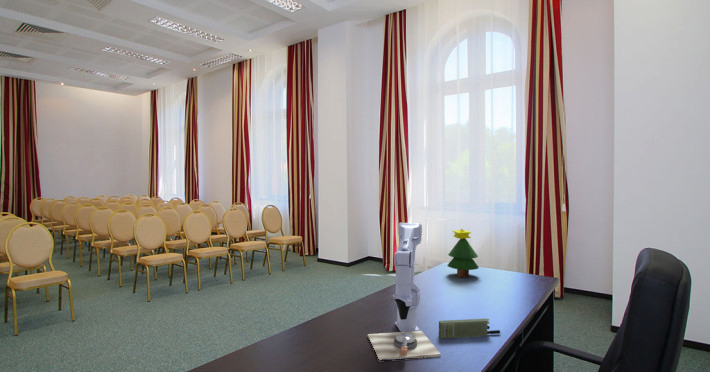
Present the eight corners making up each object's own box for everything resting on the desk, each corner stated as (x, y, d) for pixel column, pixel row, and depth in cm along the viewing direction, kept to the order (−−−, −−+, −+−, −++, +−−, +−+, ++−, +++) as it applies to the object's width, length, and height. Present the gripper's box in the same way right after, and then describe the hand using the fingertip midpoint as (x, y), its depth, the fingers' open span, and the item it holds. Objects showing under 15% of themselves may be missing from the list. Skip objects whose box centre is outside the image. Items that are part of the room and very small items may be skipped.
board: (367, 336, 148) (367, 330, 148) (421, 333, 152) (421, 327, 152) (379, 361, 128) (379, 354, 128) (440, 356, 132) (440, 349, 132)
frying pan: (393, 354, 127) (393, 349, 127) (396, 335, 143) (396, 330, 143) (414, 356, 126) (414, 351, 126) (415, 336, 142) (415, 331, 142)
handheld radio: (437, 336, 150) (497, 333, 153) (440, 340, 146) (501, 336, 149) (438, 319, 149) (498, 316, 152) (441, 323, 146) (502, 320, 149)
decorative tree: (484, 279, 231) (484, 230, 230) (454, 280, 229) (454, 231, 228) (470, 271, 250) (470, 226, 249) (442, 272, 248) (443, 226, 247)
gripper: (388, 278, 148) (388, 312, 148) (398, 289, 134) (398, 327, 134) (405, 277, 149) (405, 311, 150) (417, 288, 135) (417, 325, 135)
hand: (403, 318), depth 142 cm, fingers closed
